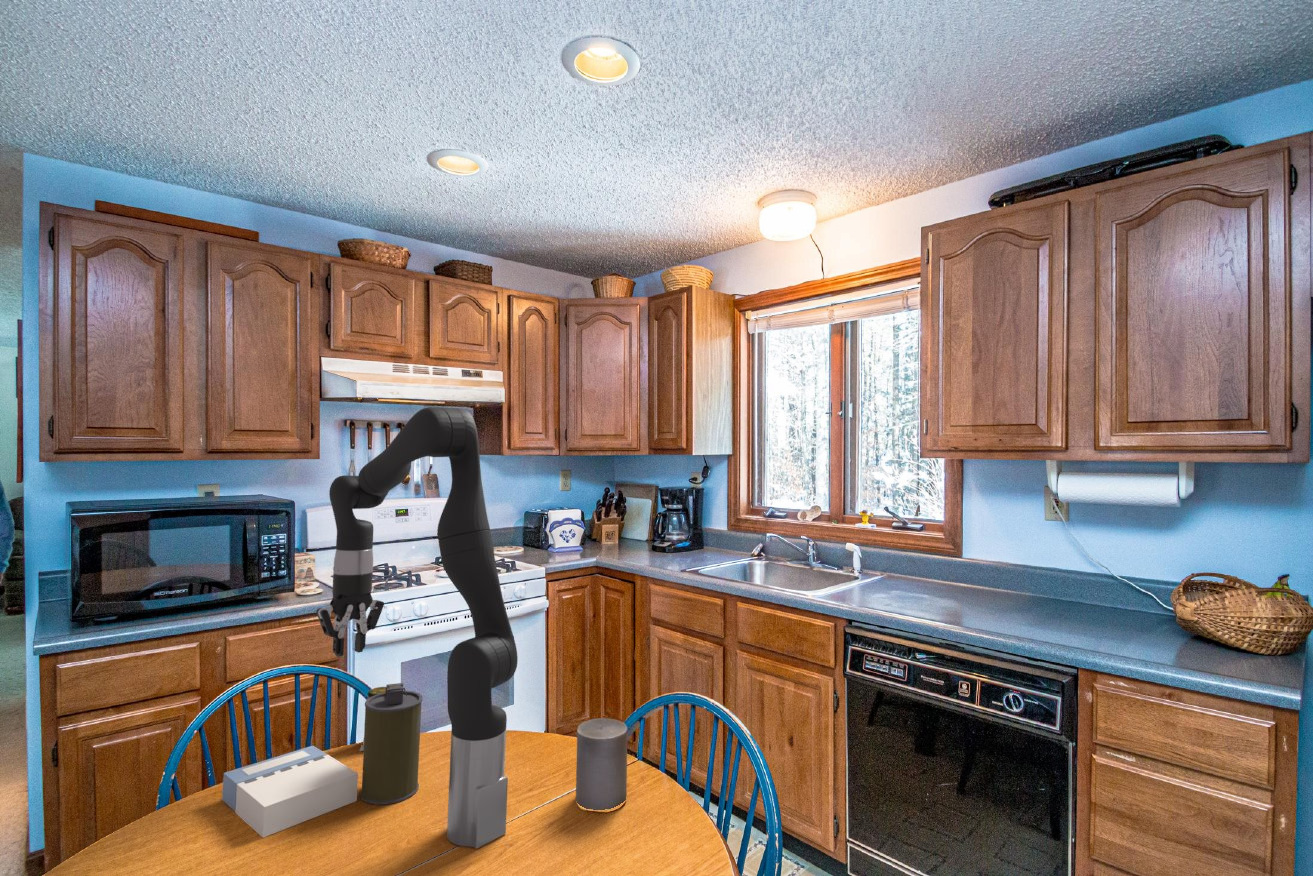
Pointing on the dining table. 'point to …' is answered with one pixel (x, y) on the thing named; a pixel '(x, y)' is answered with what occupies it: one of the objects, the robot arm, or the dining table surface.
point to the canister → (391, 746)
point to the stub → (264, 770)
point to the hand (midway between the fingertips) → (349, 653)
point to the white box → (295, 794)
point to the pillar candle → (601, 764)
